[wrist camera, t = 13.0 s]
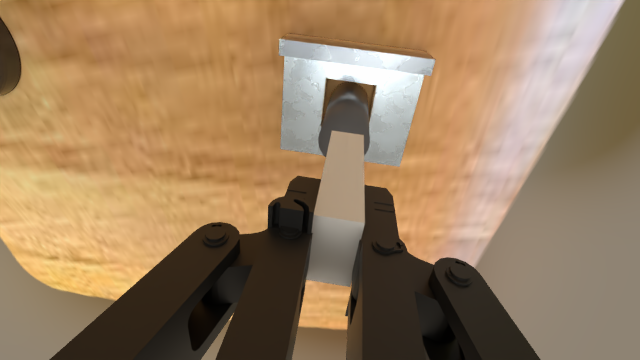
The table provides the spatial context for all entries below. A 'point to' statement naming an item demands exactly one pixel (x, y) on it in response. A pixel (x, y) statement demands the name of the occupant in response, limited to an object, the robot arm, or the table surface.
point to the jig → (354, 66)
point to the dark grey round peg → (346, 115)
